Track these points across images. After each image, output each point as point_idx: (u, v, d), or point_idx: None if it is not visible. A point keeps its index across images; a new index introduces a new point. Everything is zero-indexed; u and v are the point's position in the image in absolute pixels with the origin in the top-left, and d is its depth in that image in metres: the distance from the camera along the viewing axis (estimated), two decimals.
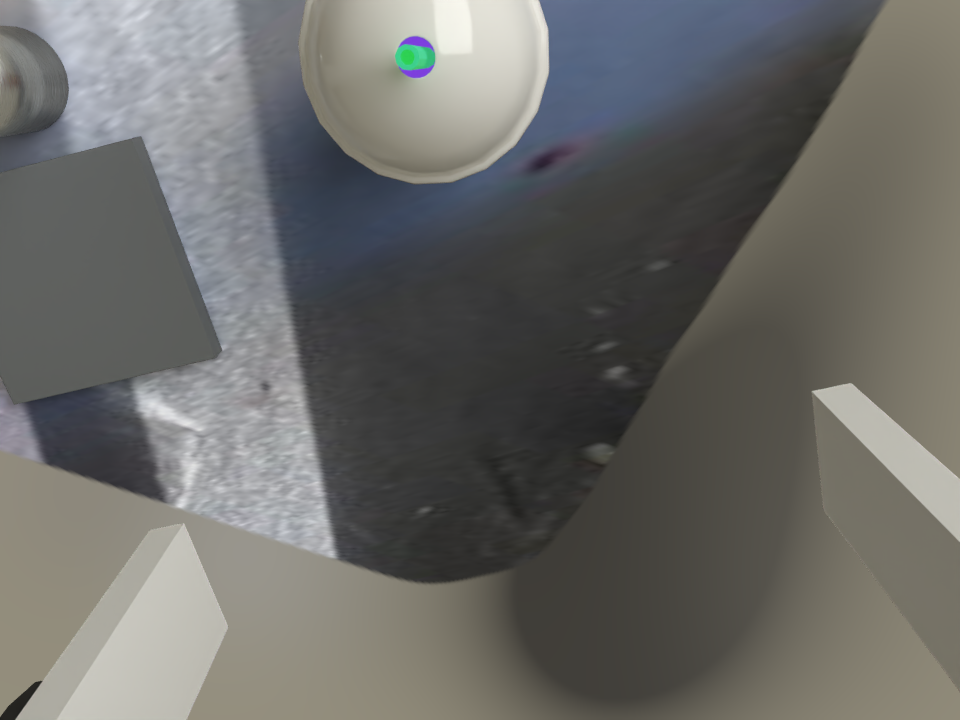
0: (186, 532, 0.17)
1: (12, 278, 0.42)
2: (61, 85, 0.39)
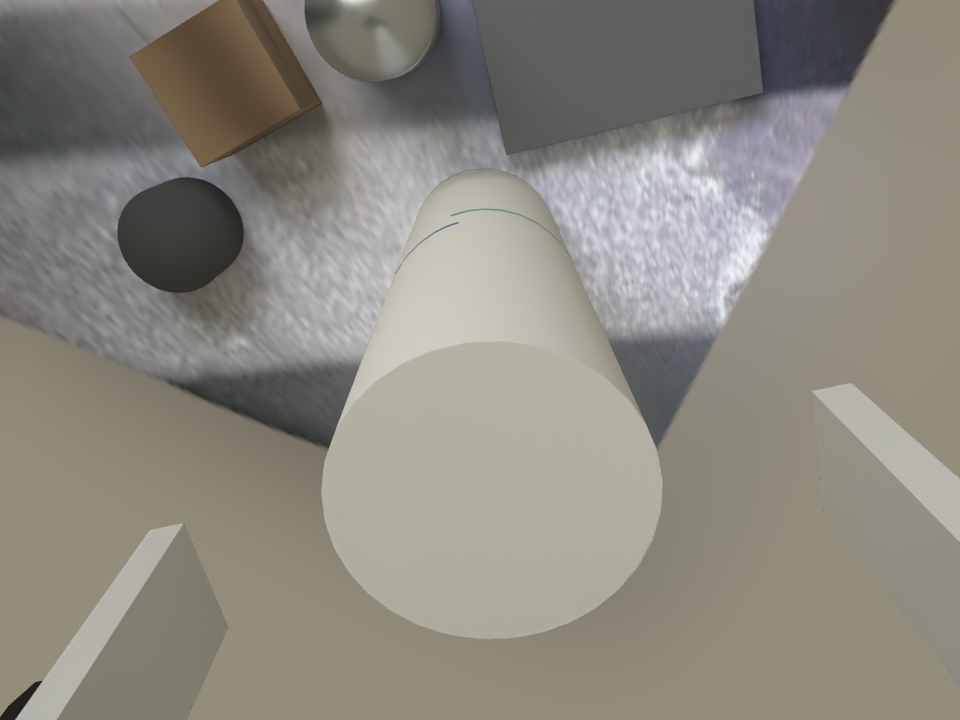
0: (186, 532, 0.17)
1: (605, 58, 0.36)
2: None
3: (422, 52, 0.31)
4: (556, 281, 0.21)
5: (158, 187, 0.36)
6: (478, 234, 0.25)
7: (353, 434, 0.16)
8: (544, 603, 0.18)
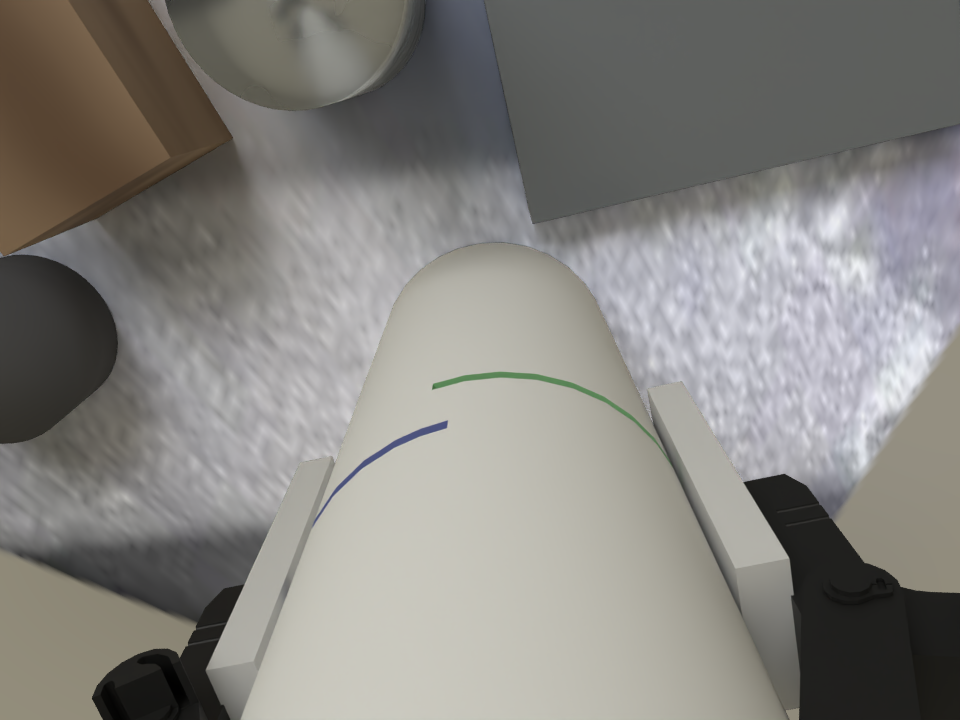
0: (334, 464, 0.18)
1: (700, 67, 0.21)
2: None
3: (384, 56, 0.17)
4: None
5: None
6: (491, 500, 0.10)
7: None
8: None
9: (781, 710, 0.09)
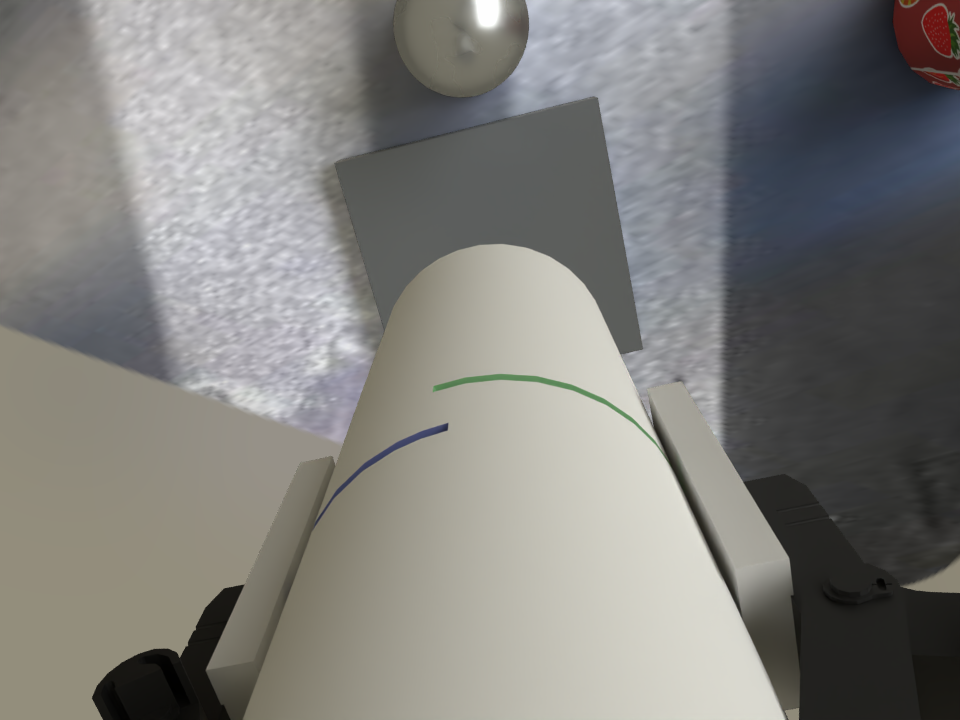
0: (334, 464, 0.18)
1: (430, 259, 0.37)
2: None
3: (424, 84, 0.30)
4: None
5: None
6: (491, 503, 0.10)
7: None
8: None
9: (781, 713, 0.09)
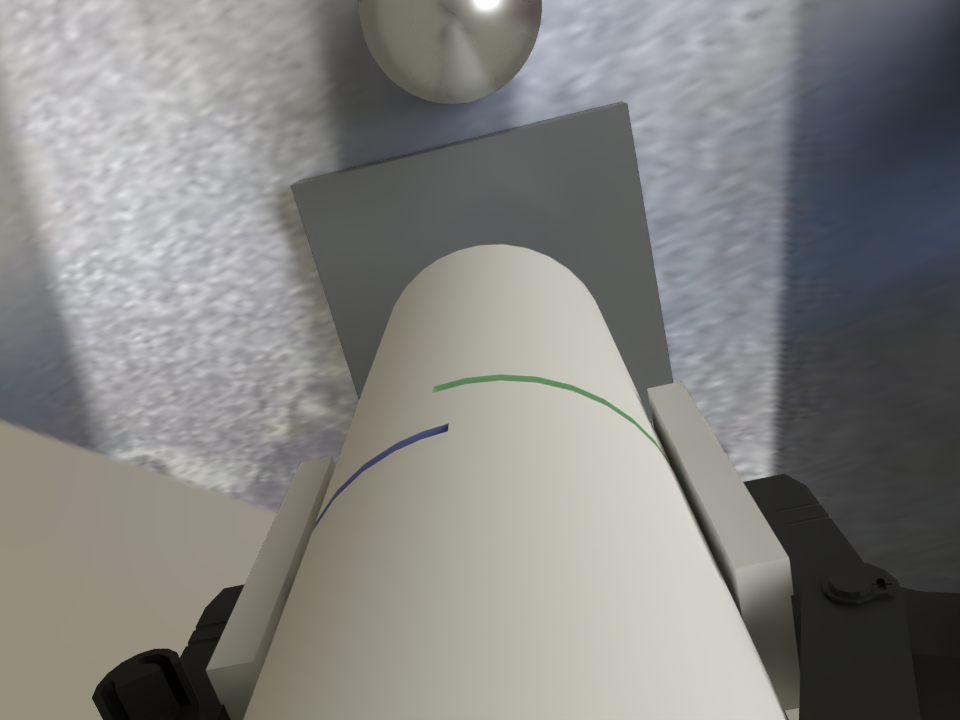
0: (334, 464, 0.18)
1: None
2: None
3: (401, 85, 0.23)
4: None
5: None
6: (492, 503, 0.10)
7: None
8: None
9: (782, 714, 0.09)
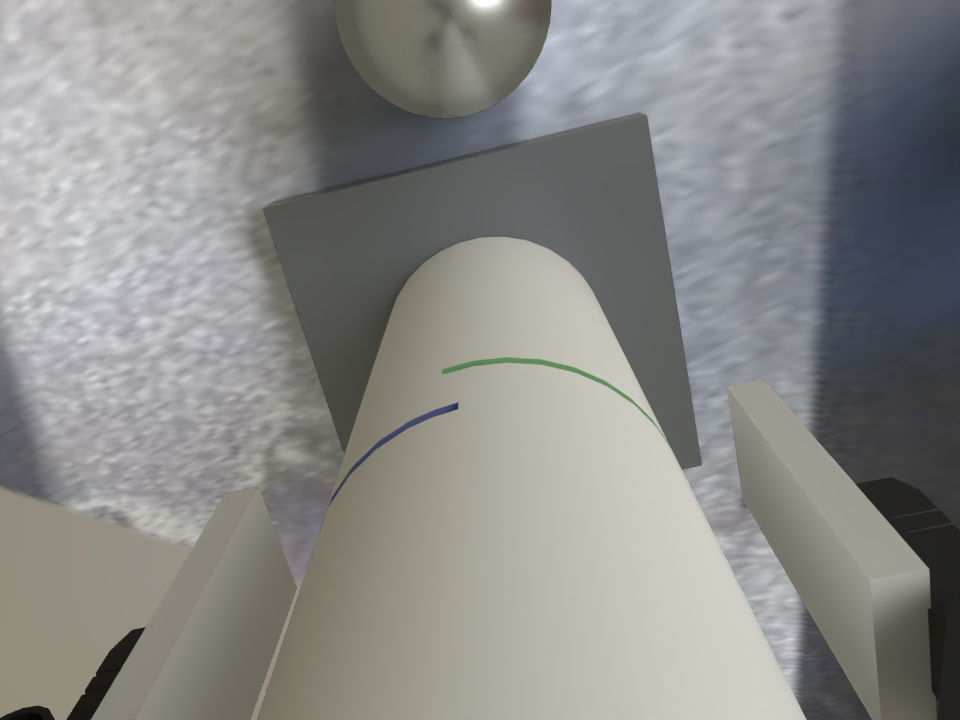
0: (260, 495, 0.17)
1: None
2: None
3: (384, 96, 0.19)
4: (737, 709, 0.08)
5: None
6: (503, 473, 0.11)
7: None
8: None
9: (775, 662, 0.10)
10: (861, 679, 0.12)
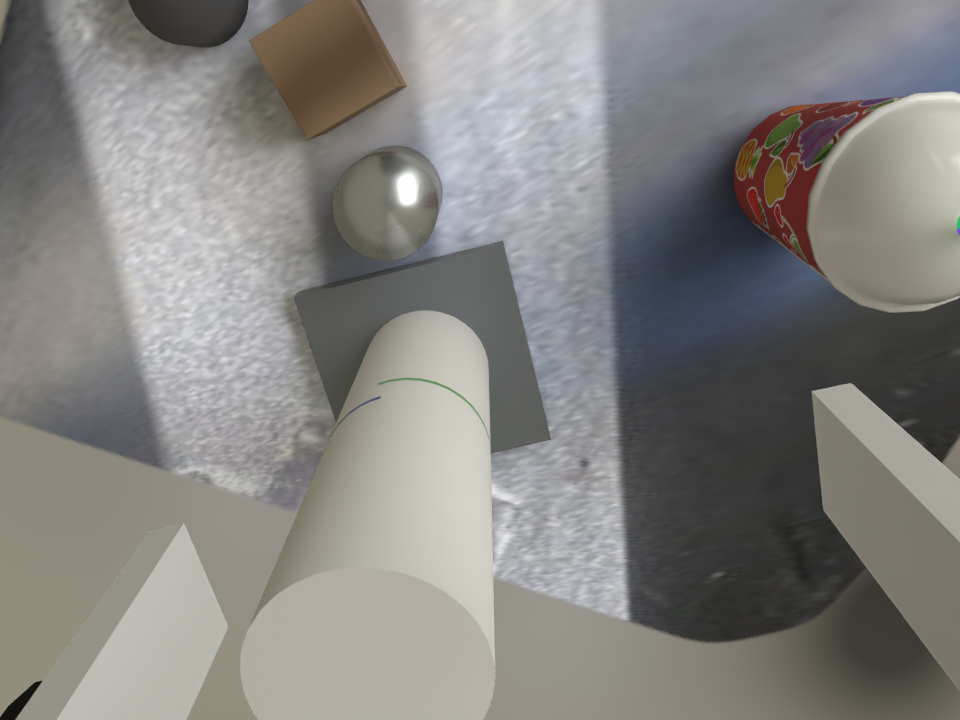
0: (186, 532, 0.17)
1: None
2: (441, 198, 0.43)
3: (358, 251, 0.39)
4: (440, 474, 0.27)
5: None
6: (389, 418, 0.31)
7: (261, 631, 0.22)
8: None
9: (474, 477, 0.29)
10: None
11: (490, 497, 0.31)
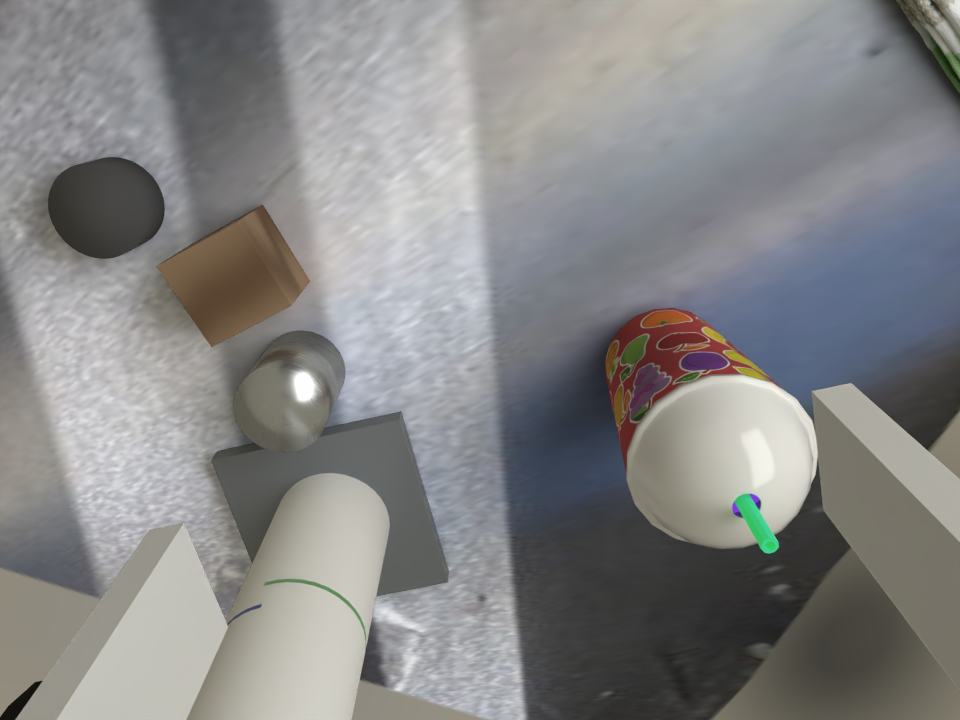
0: (186, 532, 0.17)
1: None
2: (343, 377, 0.48)
3: (257, 443, 0.44)
4: (290, 712, 0.32)
5: (142, 205, 0.42)
6: (261, 639, 0.35)
7: None
8: None
9: (328, 699, 0.34)
10: None
11: (348, 706, 0.36)
